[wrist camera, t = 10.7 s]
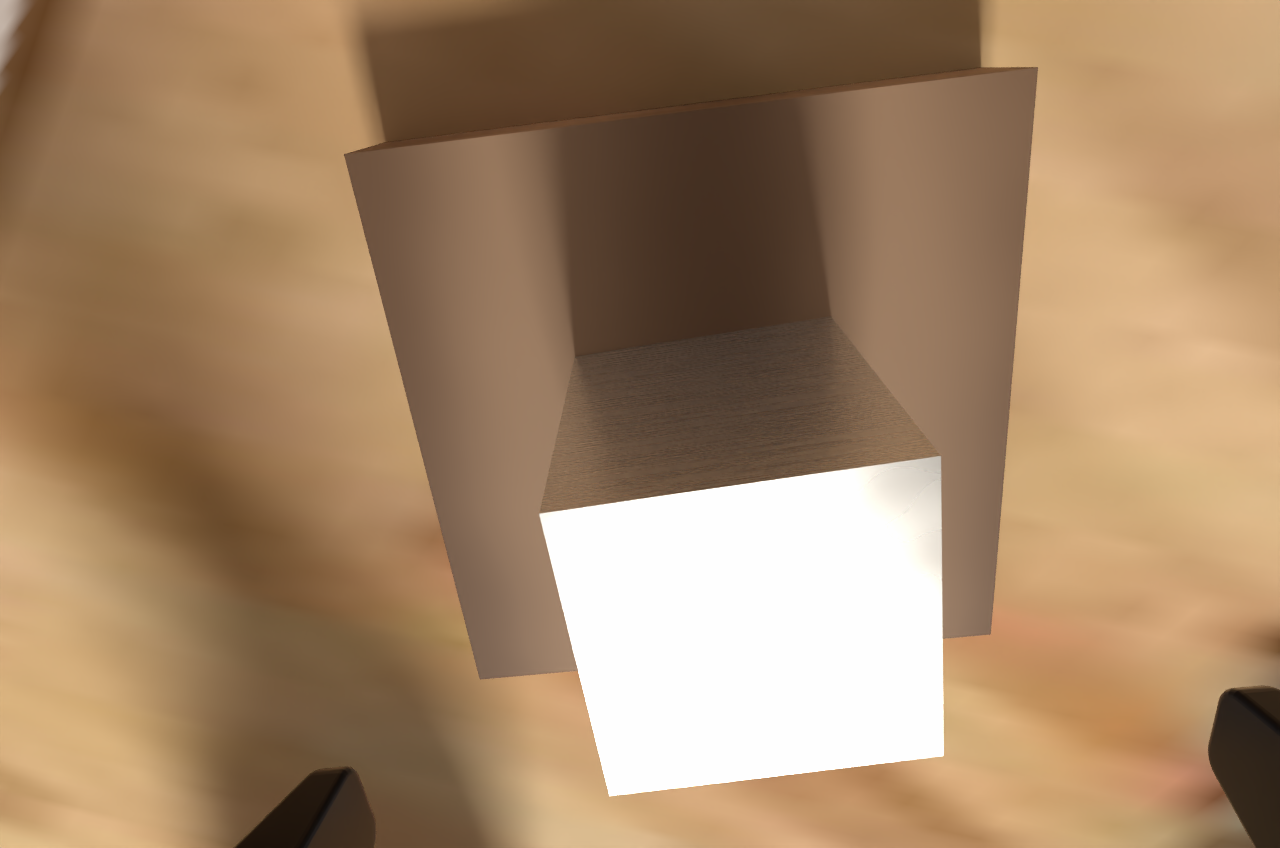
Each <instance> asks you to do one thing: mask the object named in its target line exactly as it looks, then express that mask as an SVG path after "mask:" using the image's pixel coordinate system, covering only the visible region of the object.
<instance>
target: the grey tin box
mask: <svg viewBox="0 0 1280 848" xmlns="http://www.w3.org/2000/svg"><path fill="white" fill-rule="evenodd" d="M539 515H540V519H541V523H542V527H543V531H544V535H545V539H546V543H547V547H548V551H549V555H550V559H551V563H552V567H553V571H554V575H555V579H556V583H557V587H558V591H559V595H560V599H561V603H562V607H563V611H564V615H565V619H566V623H567V627H568V631H569V635H570V639H571V643H572V647H573V651H574V655H575V659H576V663H577V667H578V671H579V675H580V679H581V683H582V687H583V691H584V695H585V699H586V703H587V707H588V711H589V715H590V719H591V723H592V727H593V731H594V735H595V739H596V743H597V747H598V751H599V755H600V759H601V763H602V767H603V771H604V775H605V779H606V783H607V787H608V791H609V795H610V796H611V795H620V794H628V793H636V792H645V791H653V790H662V789H670V788H678V787H687V786H695V785H703V784H712V783H720V782H729V781H737V780H745V779H754V778H762V777H771V776H779V775H787V774H796V773H804V772H812V771H821V770H829V769H838V768H846V767H854V766H863V765H871V764H879V763H888V762H896V761H905V760H913V759H921V758H930V757H938V756H944V740H943V627H942V514H941V455H940V454H939V453H938V451H937V450H936V449H935V448H934V446H933V445H932V444H931V443H930V441H929V440H928V439H927V437H926V436H925V435H924V434H923V432H922V431H921V430H920V429H919V427H918V426H917V425H916V423H915V422H914V421H913V420H912V418H911V417H910V416H909V415H908V413H907V412H906V411H905V409H904V408H903V407H902V406H901V404H900V403H899V402H898V401H897V399H896V398H895V397H894V395H893V394H892V393H891V392H890V390H889V389H888V388H887V387H886V385H885V384H884V383H883V382H882V380H881V379H880V378H879V376H878V375H877V374H876V373H875V371H874V370H873V369H872V368H871V366H870V365H869V364H868V362H867V361H866V360H865V359H864V357H863V356H862V355H861V354H860V352H859V351H858V350H857V348H856V347H855V346H854V345H853V343H852V342H851V341H850V340H849V338H848V337H847V336H846V334H845V333H844V332H843V331H842V329H841V328H840V327H839V326H838V324H837V323H836V322H835V320H834V319H833V318H832V317H831V316H830V317H824V318H818V319H811V320H805V321H798V322H792V323H785V324H779V325H772V326H766V327H759V328H753V329H746V330H740V331H734V332H727V333H721V334H715V335H708V336H702V337H696V338H689V339H683V340H676V341H670V342H664V343H657V344H651V345H645V346H638V347H632V348H625V349H619V350H613V351H606V352H600V353H594V354H587V355H581V356H575V358H574V362H573V367H572V371H571V375H570V380H569V384H568V389H567V393H566V397H565V402H564V406H563V411H562V415H561V420H560V424H559V428H558V433H557V437H556V442H555V446H554V450H553V455H552V459H551V464H550V468H549V472H548V477H547V481H546V486H545V490H544V494H543V499H542V503H541V508H540V512H539Z"/></svg>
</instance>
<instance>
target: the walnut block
mask: <svg viewBox="0 0 1280 848" xmlns="http://www.w3.org/2000/svg"><path fill="white" fill-rule="evenodd" d="M1037 72H1038V67H1011V68H973V69H965V70H957V71H950V72H942V73H934V74H926V75H918V76H910V77H902V78H894V79H886V80H878V81H870V82H862V83H854V84H846V85H838V86H830V87H822V88H814V89H806V90H798V91H790V92H782V93H774V94H766V95H758V96H751V97H743V98H735V99H727V100H719V101H711V102H703V103H695V104H687V105H679V106H671V107H663V108H655V109H647V110H639V111H631V112H623V113H615V114H607V115H599V116H591V117H583V118H575V119H567V120H559V121H552V122H544V123H536V124H528V125H520V126H512V127H504V128H496V129H488V130H480V131H472V132H464V133H456V134H448V135H440V136H432V137H424V138H416V139H408V140H400V141H392V142H385V143H382V144H378V145H375V146H371V147H368V148H364V149H361V150H357V151H354V152H350V153H347V154H344V156H345V160H346V164H347V168H348V171H349V175H350V179H351V183H352V187H353V191H354V195H355V198H356V202H357V206H358V210H359V214H360V218H361V222H362V226H363V229H364V233H365V237H366V241H367V245H368V249H369V253H370V256H371V260H372V264H373V268H374V272H375V276H376V280H377V284H378V287H379V291H380V295H381V299H382V303H383V307H384V311H385V314H386V318H387V322H388V326H389V330H390V334H391V338H392V341H393V345H394V349H395V353H396V357H397V361H398V365H399V369H400V372H401V376H402V380H403V384H404V388H405V392H406V396H407V399H408V403H409V407H410V411H411V415H412V419H413V423H414V427H415V430H416V434H417V438H418V442H419V446H420V450H421V454H422V457H423V461H424V465H425V469H426V473H427V477H428V481H429V485H430V488H431V492H432V496H433V500H434V504H435V508H436V512H437V515H438V519H439V523H440V527H441V531H442V535H443V539H444V543H445V546H446V550H447V554H448V558H449V562H450V566H451V570H452V573H453V577H454V581H455V585H456V589H457V593H458V597H459V601H460V604H461V608H462V612H463V616H464V620H465V624H466V628H467V631H468V635H469V639H470V643H471V647H472V651H473V655H474V659H475V662H476V666H477V670H478V674H479V678H480V679H490V678H501V677H513V676H524V675H536V674H547V673H558V672H570V671H578V667H577V663H576V659H575V655H574V651H573V647H572V643H571V639H570V635H569V631H568V627H567V623H566V619H565V615H564V611H563V607H562V603H561V599H560V595H559V591H558V587H557V583H556V579H555V575H554V571H553V567H552V563H551V559H550V555H549V551H548V547H547V543H546V539H545V535H544V531H543V527H542V523H541V519H540V515H539V512H540V508H541V503H542V499H543V494H544V490H545V486H546V481H547V477H548V472H549V468H550V464H551V459H552V455H553V450H554V446H555V442H556V437H557V433H558V428H559V424H560V420H561V415H562V411H563V406H564V402H565V397H566V393H567V389H568V384H569V380H570V375H571V371H572V367H573V362H574V358H575V356H581V355H587V354H594V353H600V352H606V351H613V350H619V349H625V348H632V347H638V346H645V345H651V344H657V343H664V342H670V341H676V340H683V339H689V338H696V337H702V336H708V335H715V334H721V333H727V332H734V331H740V330H746V329H753V328H759V327H766V326H772V325H779V324H785V323H792V322H798V321H805V320H811V319H818V318H824V317H830V316H831V317H832V318H833V319H834V320H835V322H836V323H837V324H838V326H839V327H840V328H841V329H842V331H843V332H844V333H845V334H846V336H847V337H848V338H849V340H850V341H851V342H852V343H853V345H854V346H855V347H856V348H857V350H858V351H859V352H860V354H861V355H862V356H863V357H864V359H865V360H866V361H867V362H868V364H869V365H870V366H871V368H872V369H873V370H874V371H875V373H876V374H877V375H878V376H879V378H880V379H881V380H882V382H883V383H884V384H885V385H886V387H887V388H888V389H889V390H890V392H891V393H892V394H893V395H894V397H895V398H896V399H897V401H898V402H899V403H900V404H901V406H902V407H903V408H904V409H905V411H906V412H907V413H908V415H909V416H910V417H911V418H912V420H913V421H914V422H915V423H916V425H917V426H918V427H919V429H920V430H921V431H922V432H923V434H924V435H925V436H926V437H927V439H928V440H929V441H930V443H931V444H932V445H933V446H934V448H935V449H936V450H937V451H938V453H939V454H940V455H941V514H942V627H943V639H945V638H956V637H967V636H979V635H990V634H991V624H992V612H993V600H994V588H995V576H996V564H997V552H998V540H999V528H1000V516H1001V504H1002V492H1003V480H1004V468H1005V456H1006V444H1007V432H1008V420H1009V408H1010V396H1011V384H1012V372H1013V360H1014V348H1015V336H1016V324H1017V312H1018V300H1019V288H1020V276H1021V264H1022V252H1023V240H1024V228H1025V216H1026V204H1027V192H1028V180H1029V168H1030V156H1031V144H1032V132H1033V120H1034V108H1035V96H1036V84H1037Z"/></svg>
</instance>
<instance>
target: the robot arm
mask: <svg viewBox="0 0 1280 848" xmlns="http://www.w3.org/2000/svg"><path fill="white" fill-rule="evenodd" d="M1208 755H1209V760H1210V764H1211V767H1212V770H1213V772H1214V774H1215V776H1216V778H1217V780H1218V782H1219V783H1220V785H1221V787H1222V789H1223V791H1224V792H1225V794H1226V796H1227V798H1228V800H1229V802H1230V803H1231V805H1232V807H1233V809H1234V811H1235V812H1236V814H1237V816H1238V818H1239V820H1240V822H1241V823H1242V825H1243V827H1244V829H1245V831H1246V832H1247V834H1248V836H1249V838H1250V840H1251V842H1252V843H1253V845H1254V847H1255V848H1280V690H1279V689H1276V688H1274V687H1270V686H1252V687H1240V688H1231V689H1228V690H1226V691H1225V692H1224V693H1223V694H1222V695H1221V696H1220V699H1219V702H1218V706H1217V710H1216V715H1215V719H1214V723H1213V728H1212V732H1211V736H1210V740H1209V745H1208ZM375 841H376V823H375V818H374V815H373V812H372V809H371V807H370V804H369V801H368V799H367V796H366V794H365V791H364V788H363V786H362V783H361V780H360V778H359V775H358V773H357V772H356V771H355V770H354V769H353V768H352V767H336V768H325V769H318V770H316V771H314V772H312V773H311V774H309V775H308V776H307V777H306V778H305V779H304V780H303V781H302V782H301V783H300V784H299V785H298V786H297V787H296V788H295V789H294V790H293V791H291V792H290V793H289V794H288V795H287V796H286V797H285V798H284V799H283V800H282V801H281V802H280V803H279V804H278V805H277V806H276V807H275V808H274V809H273V810H272V811H271V812H270V813H269V814H268V815H267V816H266V817H265V818H264V819H263V820H262V821H261V822H260V823H259V824H258V825H257V826H256V827H255V828H253V829H252V830H251V831H250V832H249V833H248V834H247V835H246V836H245V837H244V838H243V839H242V840H241V841H240V842H239V843H238V844H237V845H236V846H235V847H234V848H374V847H375Z"/></svg>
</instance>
